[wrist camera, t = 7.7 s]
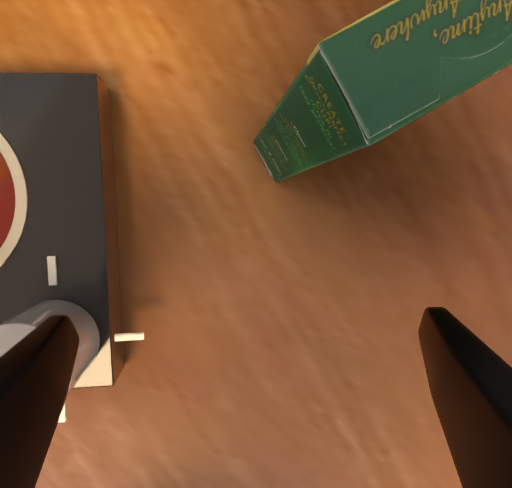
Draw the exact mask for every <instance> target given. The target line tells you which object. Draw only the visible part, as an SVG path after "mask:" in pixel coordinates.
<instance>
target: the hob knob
mask: <svg viewBox="0 0 512 488" xmlns="http://www.w3.org/2000/svg"><path fill="white" fill-rule="evenodd" d="M52 315H67V316H69V317H70V319H71V321H72V323H73V325H74V327H75V328H76V330H77V332H78V335H79V347H78V351H77V355H76V359H75V364H74V368H73V372H72V376H71V381H70V385H69V389H68V393H67V395H68V394H69V393H70V392H71V390H72V389H73V388H74V386H75V385H76V384H77V382H78V381H79V380H80V379H81V377H82V376H83V375H84V373H85V372H86V371H87V369H88V368H89V367H90V366H91V364H92V363H93V361H94V360H95V358H96V356H97V354H98V350H99V345H100V336H99V331H98V328H97V325H96V323H95V321H94V320H93V318H92V317H91V316H90V314H89V313H88V312H87V311H86V310H84V309H83V308H82V307H80V306H78V305H76V304H74V303H72V302H68V301H64V300H48V301H43V302H40V303H38V304H36V305H34V306H32V307H30V308H28V309H26V310H25V311H23V312H21V313H19V314H17V315H15V316H14V317H12V318H10V319H8V320H6V321H5V322H3V323H1V324H0V357H1V356H2V355H3V354H5V353H6V352H7V351H8V350H9V349H11V348H12V347H13V346H14V345H15V344H17V343H18V342H19V341H20V340H22V339H23V338H24V337H25V336H26V335H28V334H29V333H30V332H31V331H32V330H34V329H35V328H36V327H37V326H38V325H40V324H41V323H42V322H43V321H45V320H46V319H47V318H48V317H50V316H52Z"/></svg>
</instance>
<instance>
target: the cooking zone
mask: <svg viewBox="0 0 512 488" xmlns="http://www.w3.org/2000/svg"><path fill="white" fill-rule="evenodd" d="M26 215H27V188H26V181H25V177H24V174H23V170H22V167H21V165H20V163H19V160H18V158H17V156H16V154H15V152H14V151H13V149H12V147H11V146H10V144H9V143H8V141H7V140H6V139H5V137H4V136H3V135H2V134H1V132H0V266H1V265H2V264H3V263H4V262H5V261H6V260H7V258H8V257H9V256H10V255H11V253H12V252H13V250H14V248H15V247H16V245H17V243H18V241H19V239H20V237H21V234H22V232H23V228H24V225H25V221H26Z"/></svg>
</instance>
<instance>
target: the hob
mask: <svg viewBox="0 0 512 488" xmlns="http://www.w3.org/2000/svg"><path fill="white" fill-rule="evenodd" d="M0 132H1V134H2V135H3V136H4V137H5V139H6V140H7V141H8V143H9V144H10V146H11V147H12V149H13V151H14V152H15V154H16V156H17V158H18V160H19V163H20V165H21V167H22V170H23V174H24V177H25V181H26V188H27V215H26V221H25V225H24V228H23V232H22V234H21V237H20V239H19V241H18V243H17V245H16V247H15V248H14V250H13V252H12V253H11V255H10V256H9V257H8V258H7V260H6V261H5V262H4V263H3V264H2V265H1V266H0V324H1V323H3V322H5V321H6V320H8V319H10V318H12V317H14V316H15V315H17V314H19V313H21V312H23V311H25V310H26V309H28V308H30V307H32V306H34V305H36V304H38V303H40V302H43V301H48V300H64V301H68V302H72V303H74V304H76V305H78V306H80V307H82V308H83V309H84V310H86V311H87V312H88V313H89V314H90V316H91V317H92V318H93V320H94V321H95V323H96V325H97V328H98V331H99V336H100V345H99V350H98V354H97V356H96V358H95V360H94V361H93V363H92V364H91V366H90V367H89V368H88V369H87V371H86V372H85V373H84V375H83V376H82V377H81V379H80V380H79V381H78V382H77V384H76V385H75V386H74V388H86V387H101V386H113V385H114V383H115V382H116V380H117V378H118V376H119V374H120V373H121V371H122V369H123V367H124V353H123V341H132V340H144V332H134V333H122V314H121V295H120V276H119V256H118V237H117V217H116V198H115V179H114V159H113V140H112V120H111V101H110V89H109V88H108V87H107V86H106V84H105V83H104V82H103V81H102V80H101V79H100V78H99V76H98V75H97V74H75V73H6V72H0ZM66 421H67V418H66V403H64V406H63V409H62V412H61V415H60V418H59V420H58V423H60V422H66Z"/></svg>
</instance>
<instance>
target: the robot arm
mask: <svg viewBox="0 0 512 488" xmlns="http://www.w3.org/2000/svg"><path fill="white" fill-rule="evenodd" d="M419 340H420V345H421V349H422V354H423V359H424V363H425V368H426V372H427V377H428V382H429V386H430V391H431V395H432V398H433V401H434V405H435V408H436V411H437V414H438V416H439V419H440V422H441V425H442V428H443V431H444V434H445V437H446V440H447V443H448V446H449V449H450V452H451V455H452V458H453V461H454V464H455V466H456V469H457V472H458V475H459V478H460V481H461V484H462V487H463V488H512V367H510V366H509V365H508V364H507V363H506V362H505V361H504V360H503V359H501V358H500V357H499V356H498V355H497V354H496V353H495V352H494V351H492V350H491V349H490V348H489V347H488V346H487V345H486V344H485V343H484V342H482V341H481V340H480V339H479V338H478V337H477V336H476V335H475V334H473V333H472V332H471V331H470V330H469V329H468V328H467V327H466V326H464V325H463V324H462V323H461V322H460V321H459V320H458V319H457V318H456V317H454V316H453V315H452V314H451V313H450V312H449V311H448V310H446V309H445V308H443V307H428V308H426V309H425V311H424V313H423V317H422V320H421V324H420V327H419ZM78 347H79V335H78V332H77V330H76V328H75V327H74V325H73V323H72V321H71V319H70V317H69V316H67V315H52V316H50V317H48V318H47V319H46V320H45V321H43V322H42V323H41V324H40V325H38V326H37V327H36V328H35V329H34V330H32V331H31V332H30V333H29V334H28V335H26V336H25V337H24V338H23V339H22V340H20V341H19V342H18V343H17V344H15V345H14V346H13V347H12V348H11V349H9V350H8V351H7V352H6V353H5V354H3V355H2V356H1V357H0V488H35V485H36V482H37V479H38V477H39V474H40V471H41V468H42V465H43V463H44V460H45V457H46V454H47V451H48V448H49V446H50V443H51V440H52V437H53V434H54V432H55V429H56V426H57V423H58V420H59V418H60V415H61V412H62V409H63V406H64V403H65V400H66V397H67V393H68V389H69V385H70V381H71V376H72V372H73V368H74V364H75V359H76V355H77V351H78Z"/></svg>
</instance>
